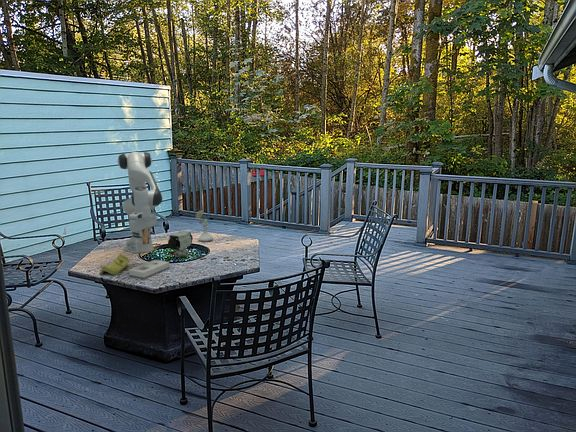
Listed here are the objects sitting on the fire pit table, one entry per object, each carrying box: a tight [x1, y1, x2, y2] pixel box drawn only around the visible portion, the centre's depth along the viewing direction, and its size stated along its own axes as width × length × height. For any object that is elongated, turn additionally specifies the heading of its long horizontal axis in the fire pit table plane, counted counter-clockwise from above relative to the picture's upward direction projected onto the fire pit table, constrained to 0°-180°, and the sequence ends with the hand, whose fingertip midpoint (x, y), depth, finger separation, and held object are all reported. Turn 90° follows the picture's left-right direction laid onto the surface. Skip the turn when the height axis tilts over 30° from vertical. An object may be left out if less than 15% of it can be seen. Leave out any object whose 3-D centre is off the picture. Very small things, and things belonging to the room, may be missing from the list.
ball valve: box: [167, 230, 193, 258], centre depth 296 cm, size 18×8×18 cm, turn 154°
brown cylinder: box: [141, 228, 149, 245], centre depth 264 cm, size 4×4×10 cm
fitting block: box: [128, 259, 170, 280], centre depth 265 cm, size 22×12×4 cm, turn 153°
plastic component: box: [99, 254, 130, 276], centre depth 270 cm, size 20×7×10 cm
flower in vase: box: [195, 209, 214, 242], centre depth 335 cm, size 13×11×25 cm
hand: (145, 235), depth 264 cm, fingers closed on brown cylinder, 4 cm apart
